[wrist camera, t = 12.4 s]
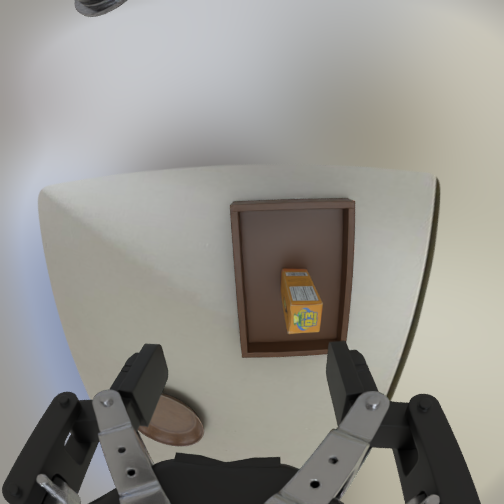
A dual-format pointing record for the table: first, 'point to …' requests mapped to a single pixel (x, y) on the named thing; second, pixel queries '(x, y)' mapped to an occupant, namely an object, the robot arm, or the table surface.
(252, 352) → the tray
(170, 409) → the saucer
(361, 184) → the table surface
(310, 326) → the supplement box
